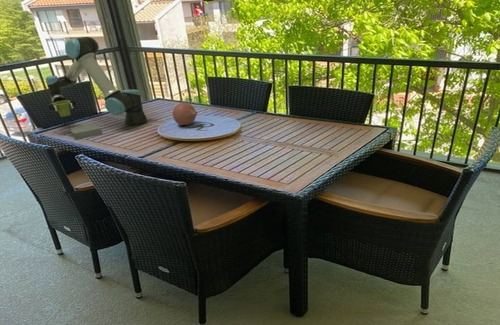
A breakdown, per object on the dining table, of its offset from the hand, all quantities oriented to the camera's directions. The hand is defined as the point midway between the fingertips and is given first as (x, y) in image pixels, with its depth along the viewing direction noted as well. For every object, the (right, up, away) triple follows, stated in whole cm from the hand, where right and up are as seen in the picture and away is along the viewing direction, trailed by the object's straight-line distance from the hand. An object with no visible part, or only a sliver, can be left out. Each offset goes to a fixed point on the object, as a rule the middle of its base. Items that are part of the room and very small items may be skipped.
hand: (64, 107), depth 222 cm
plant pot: (-2, -4, +6) cm, 8 cm away
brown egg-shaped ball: (+76, -10, +14) cm, 78 cm away
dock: (+11, -16, +7) cm, 21 cm away
